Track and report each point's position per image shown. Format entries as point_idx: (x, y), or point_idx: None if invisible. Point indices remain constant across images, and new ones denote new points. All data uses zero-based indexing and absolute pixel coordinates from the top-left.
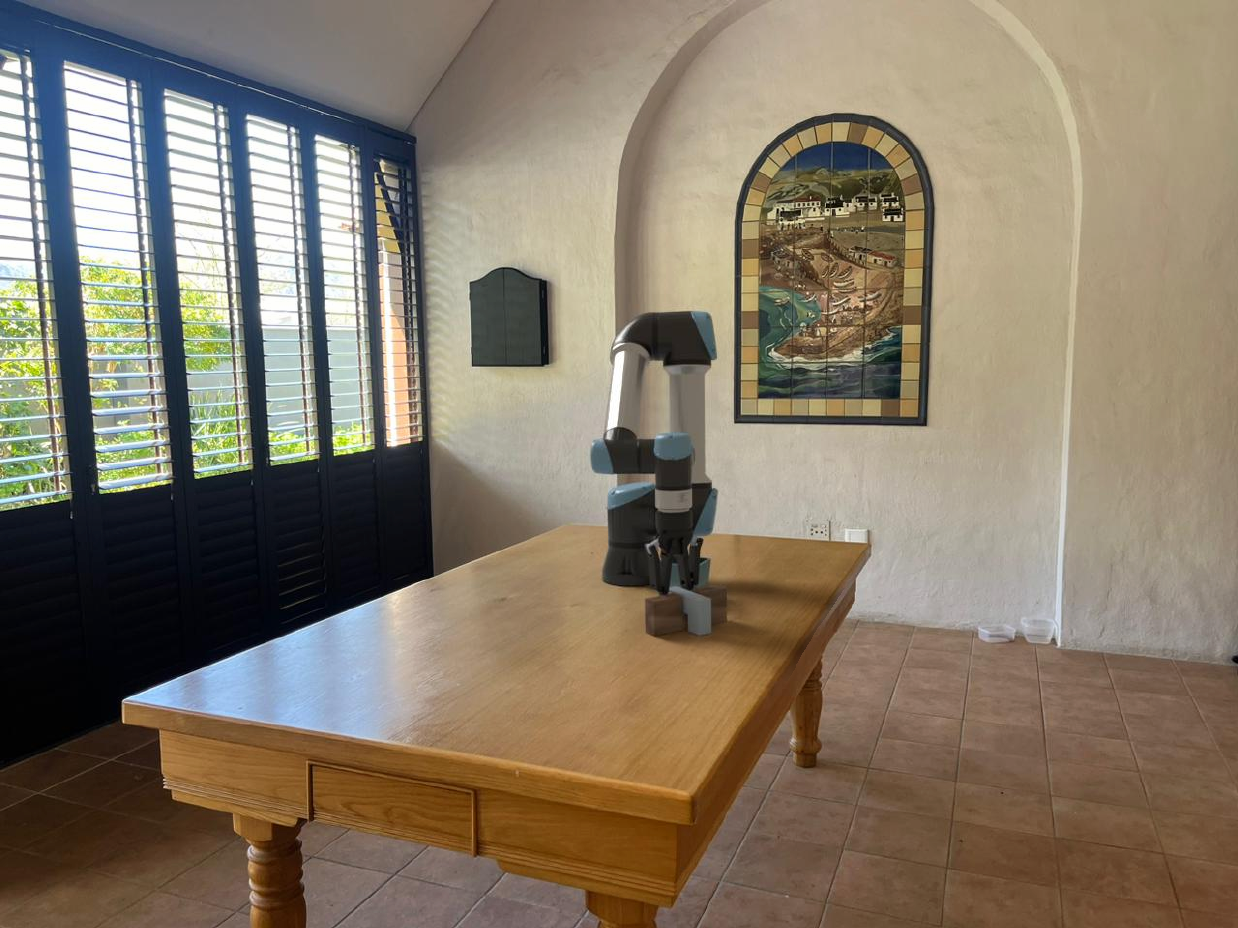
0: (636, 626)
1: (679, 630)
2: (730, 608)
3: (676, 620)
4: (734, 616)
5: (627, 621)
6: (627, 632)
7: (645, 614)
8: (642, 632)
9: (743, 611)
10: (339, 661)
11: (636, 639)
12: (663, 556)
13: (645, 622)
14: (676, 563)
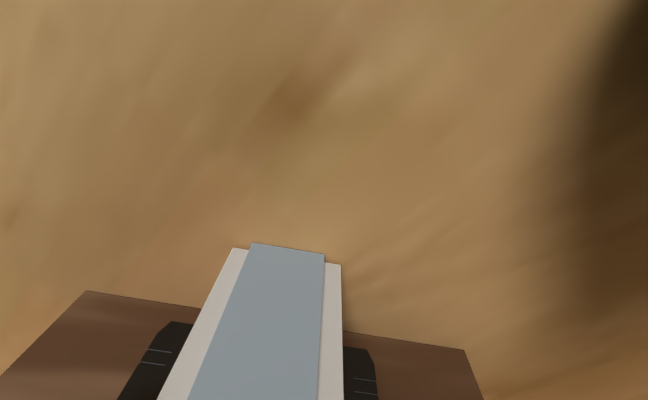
0: (86, 205)
1: None
2: (634, 312)
3: None
4: (515, 376)
5: (75, 104)
6: (9, 238)
7: (11, 367)
8: (75, 279)
9: (607, 365)
10: None
11: (17, 315)
12: None
13: (49, 327)
14: None
